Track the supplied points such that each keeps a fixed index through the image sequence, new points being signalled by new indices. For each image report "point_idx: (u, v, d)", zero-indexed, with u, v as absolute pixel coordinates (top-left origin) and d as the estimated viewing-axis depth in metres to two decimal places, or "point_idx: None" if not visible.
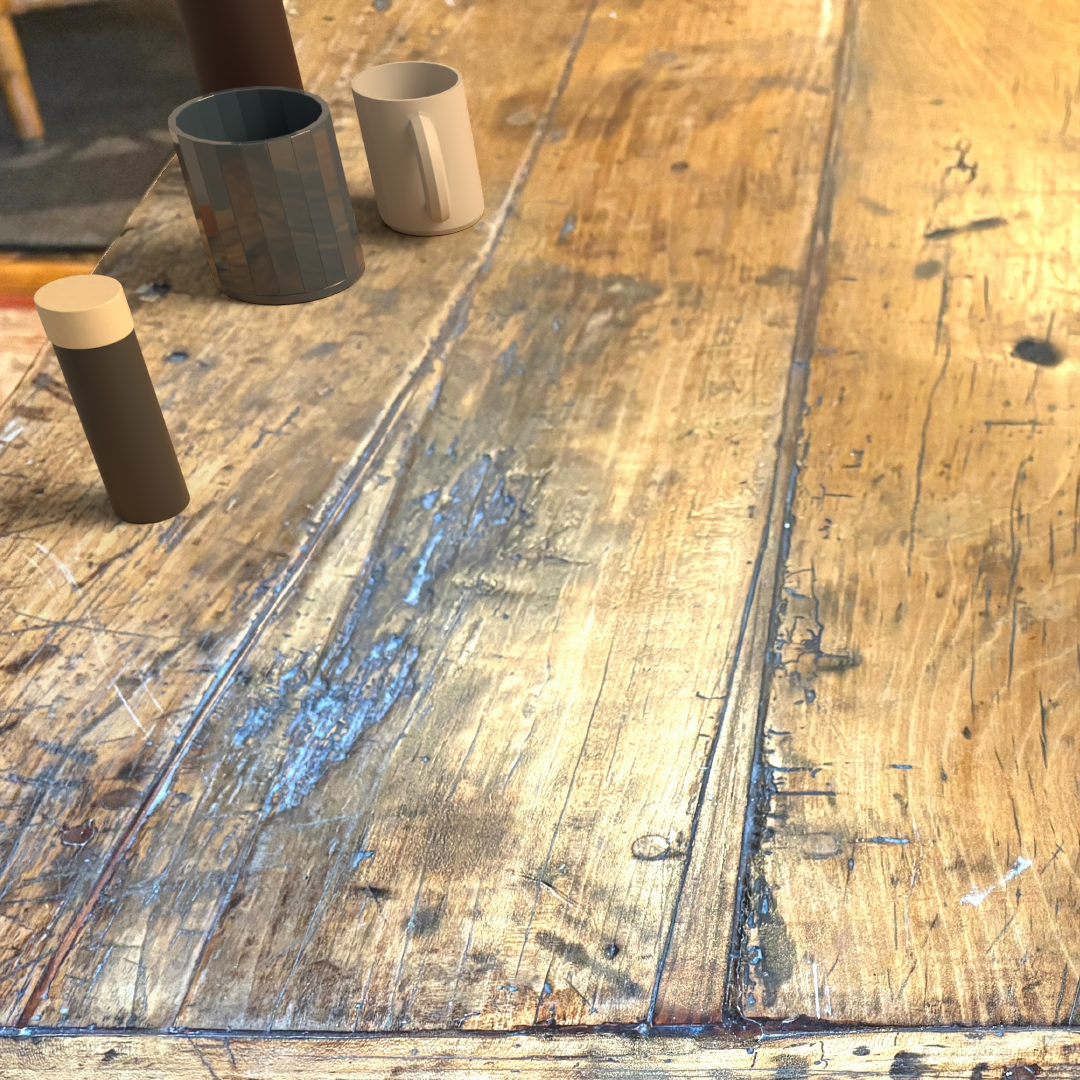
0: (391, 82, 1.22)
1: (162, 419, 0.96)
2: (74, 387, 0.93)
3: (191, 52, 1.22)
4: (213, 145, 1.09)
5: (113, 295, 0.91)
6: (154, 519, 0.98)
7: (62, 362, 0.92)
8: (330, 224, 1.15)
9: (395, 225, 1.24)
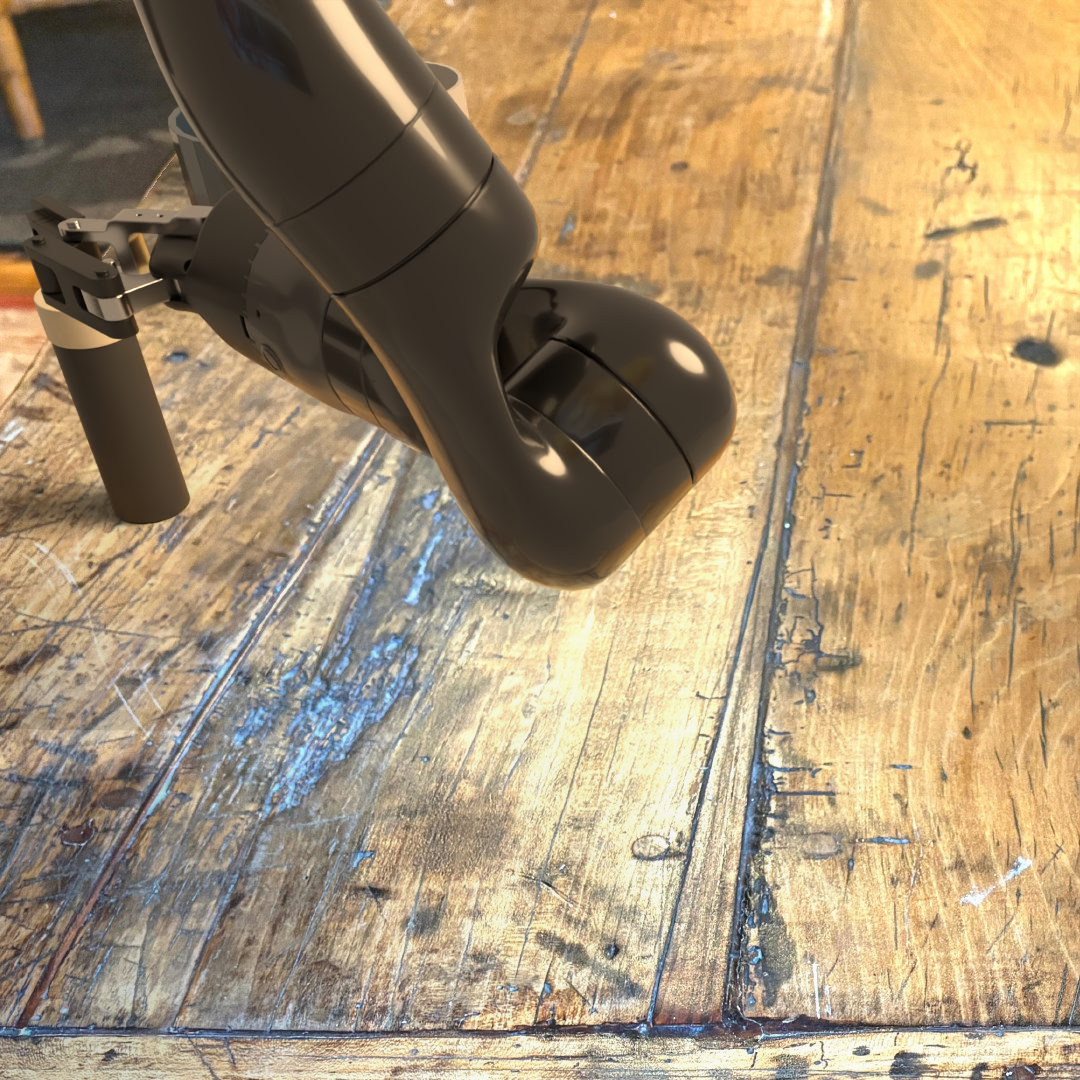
0: None
1: (162, 419, 0.96)
2: (74, 387, 0.93)
3: None
4: None
5: None
6: (154, 519, 0.98)
7: (62, 362, 0.92)
8: None
9: None
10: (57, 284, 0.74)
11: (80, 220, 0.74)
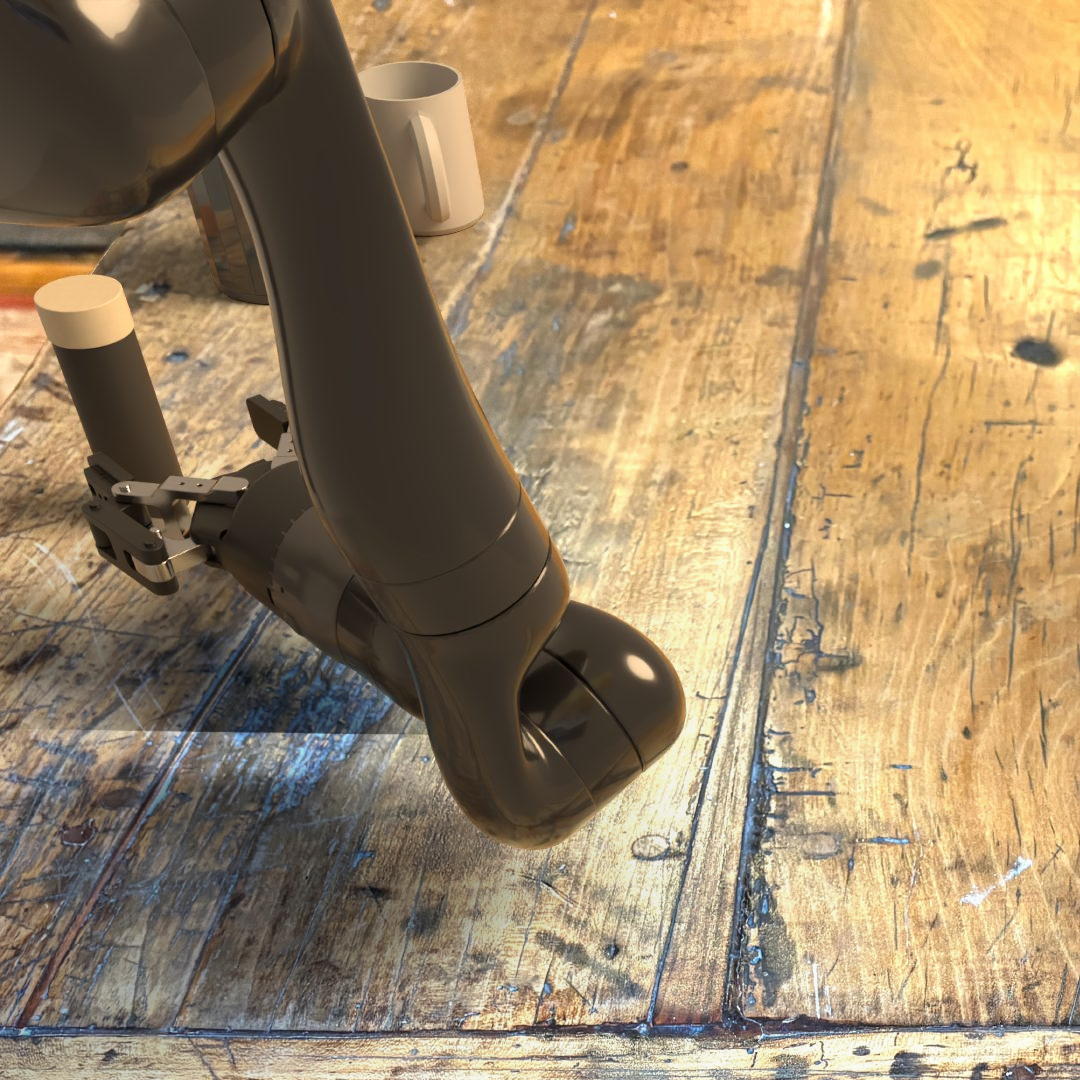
0: (391, 82, 1.22)
1: (162, 419, 0.96)
2: (74, 387, 0.93)
3: None
4: None
5: (113, 295, 0.91)
6: None
7: (62, 362, 0.92)
8: None
9: None
10: (110, 540, 0.86)
11: (130, 483, 0.86)
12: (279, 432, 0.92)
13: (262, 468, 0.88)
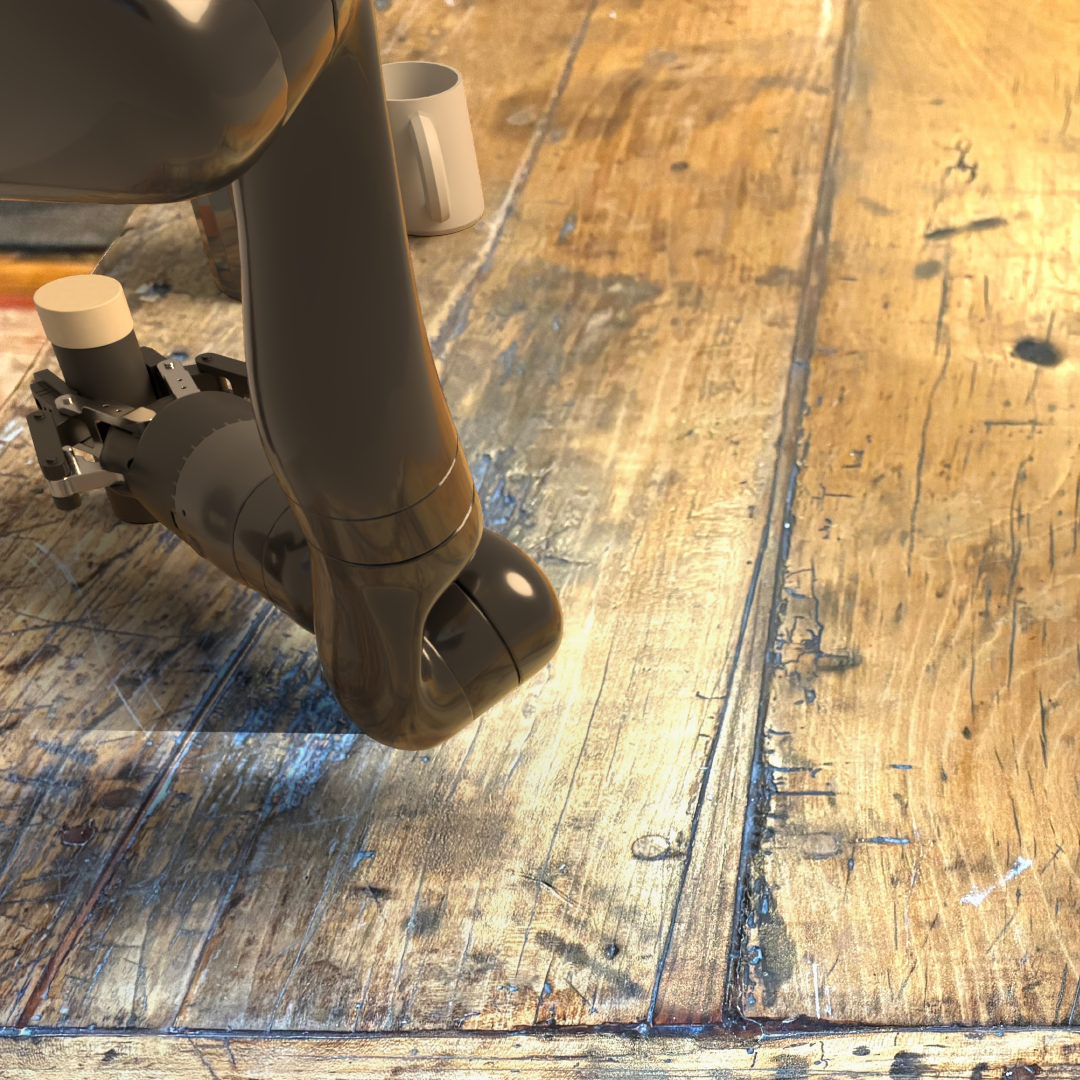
0: (391, 82, 1.22)
1: None
2: (73, 387, 0.93)
3: None
4: None
5: (112, 294, 0.91)
6: (153, 519, 0.98)
7: (61, 361, 0.92)
8: None
9: None
10: None
11: (74, 397, 0.92)
12: None
13: None
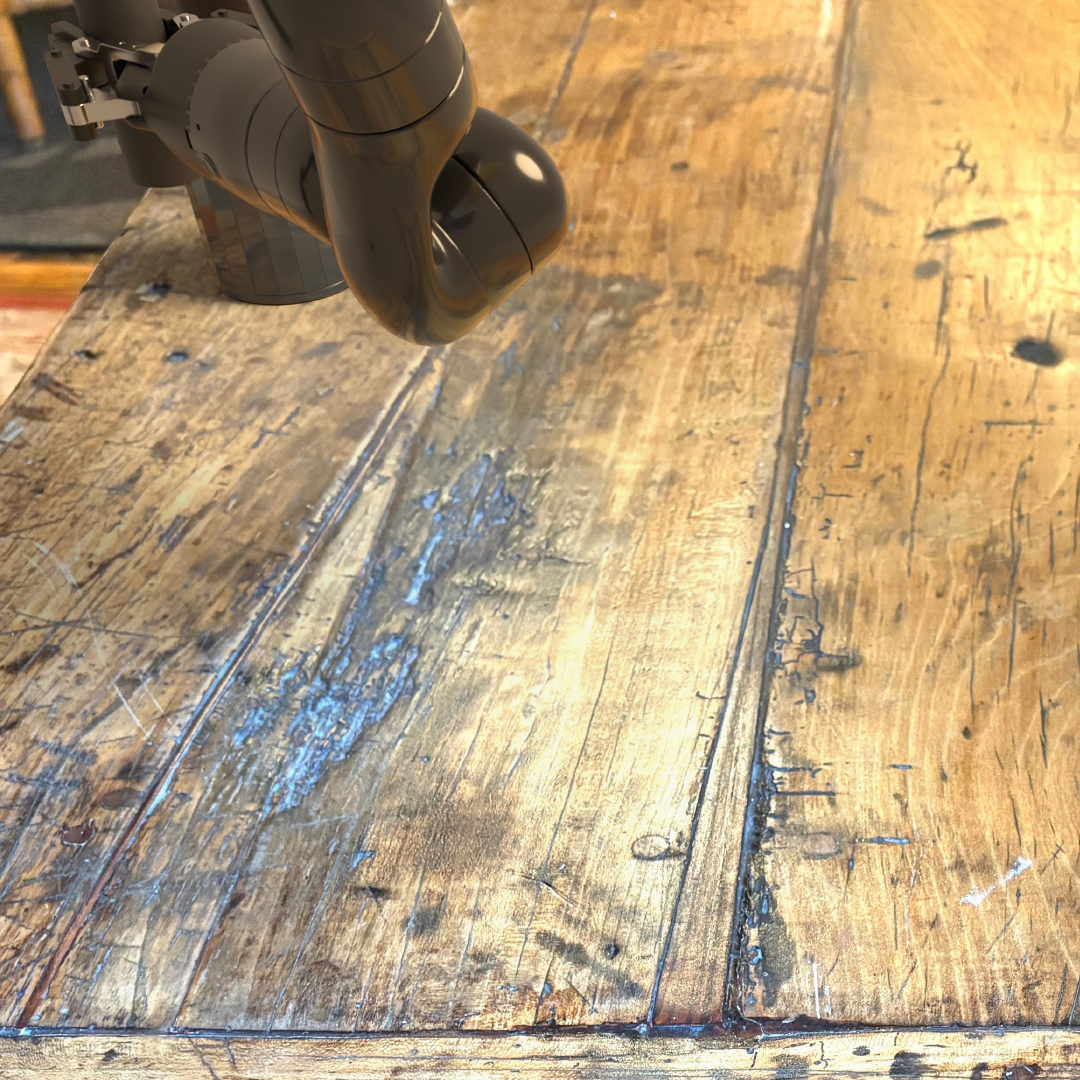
0: None
1: None
2: (90, 34, 0.93)
3: None
4: None
5: None
6: (169, 184, 0.99)
7: (78, 5, 0.93)
8: None
9: None
10: None
11: (91, 40, 0.93)
12: None
13: None
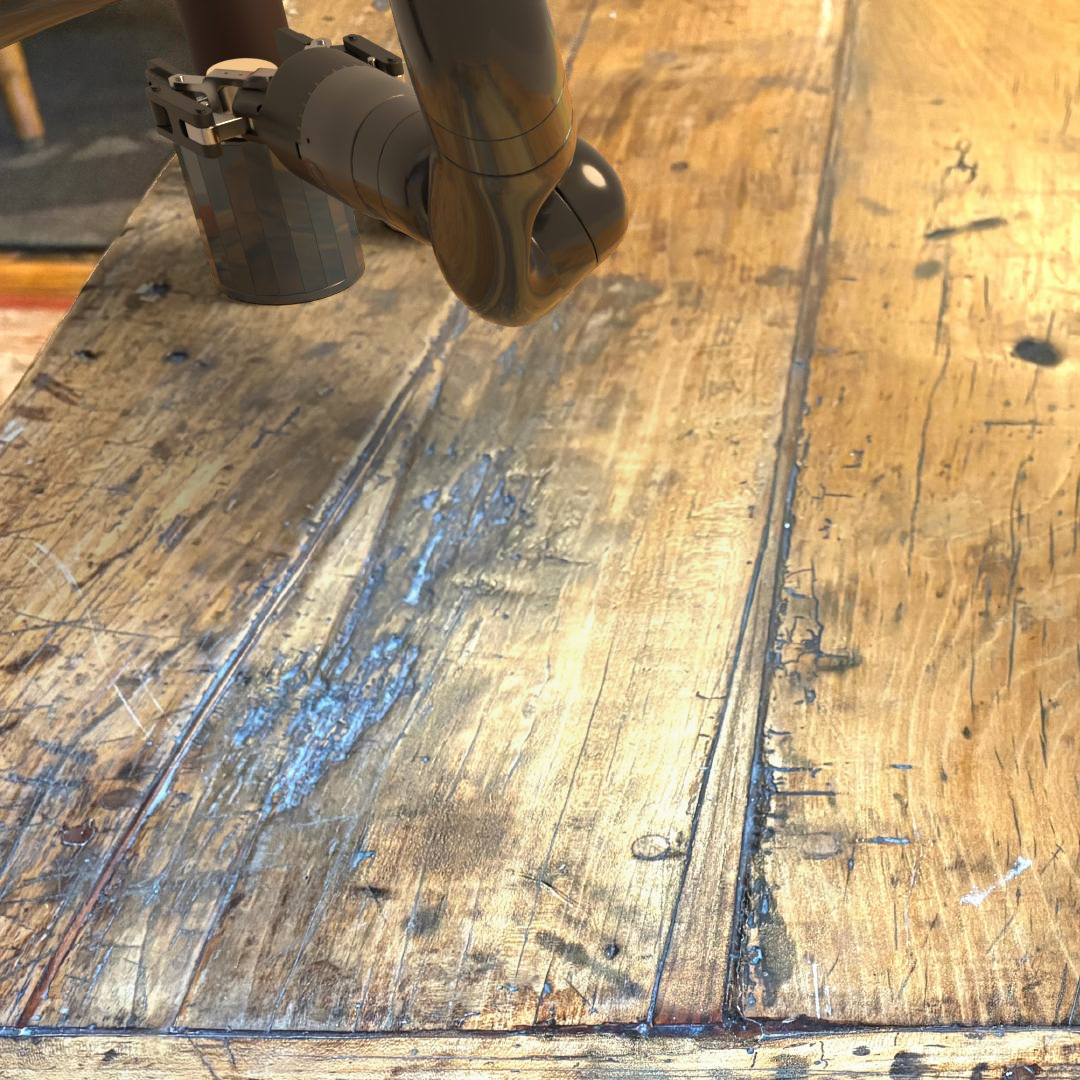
0: None
1: None
2: None
3: (191, 52, 1.22)
4: None
5: None
6: None
7: None
8: (330, 224, 1.15)
9: None
10: (167, 119, 1.06)
11: (183, 76, 1.06)
12: None
13: None
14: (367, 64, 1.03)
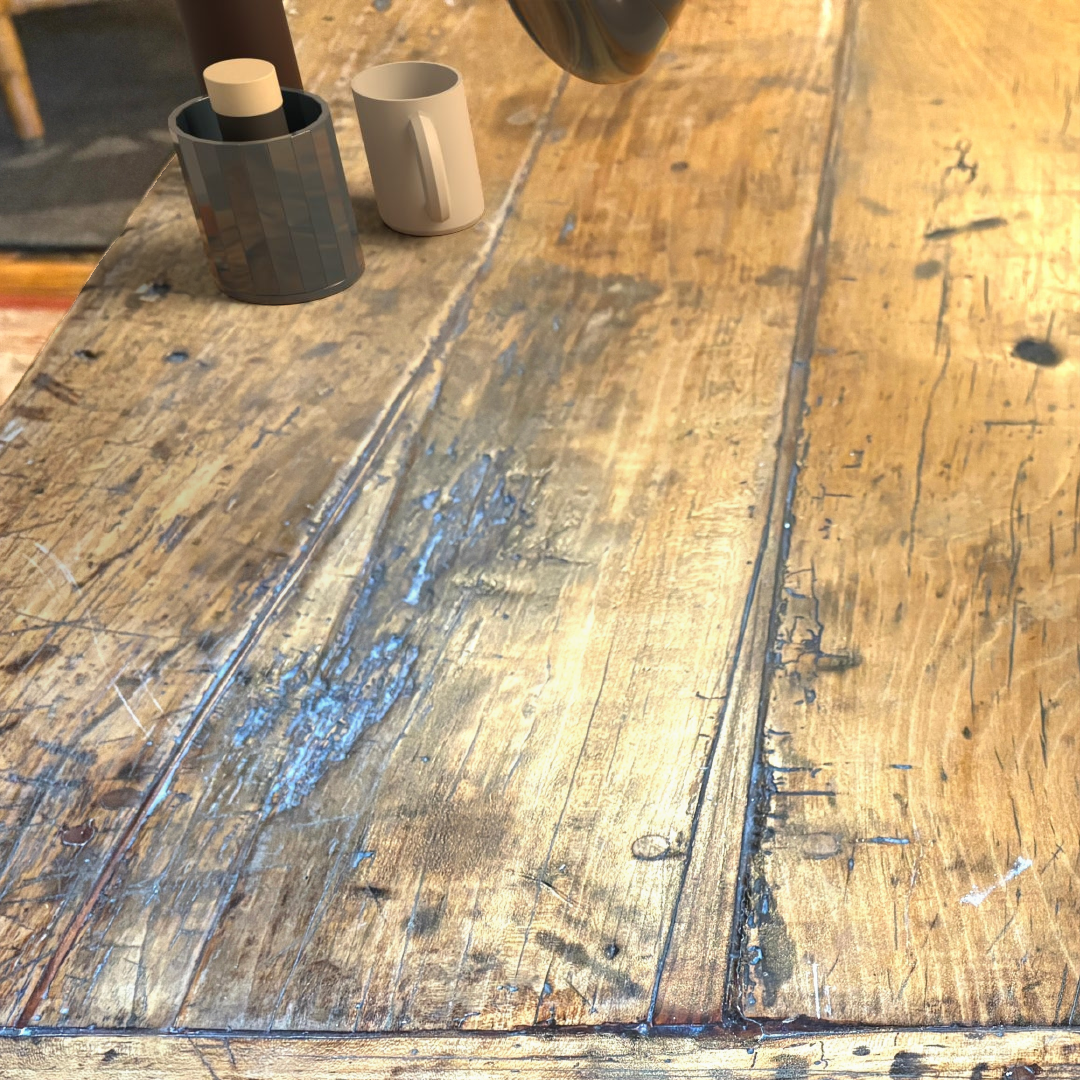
0: (391, 82, 1.22)
1: None
2: None
3: (191, 52, 1.22)
4: (213, 145, 1.09)
5: (268, 72, 1.10)
6: None
7: (224, 129, 1.11)
8: (330, 224, 1.15)
9: (395, 225, 1.24)
10: None
11: None
12: None
13: None
14: None
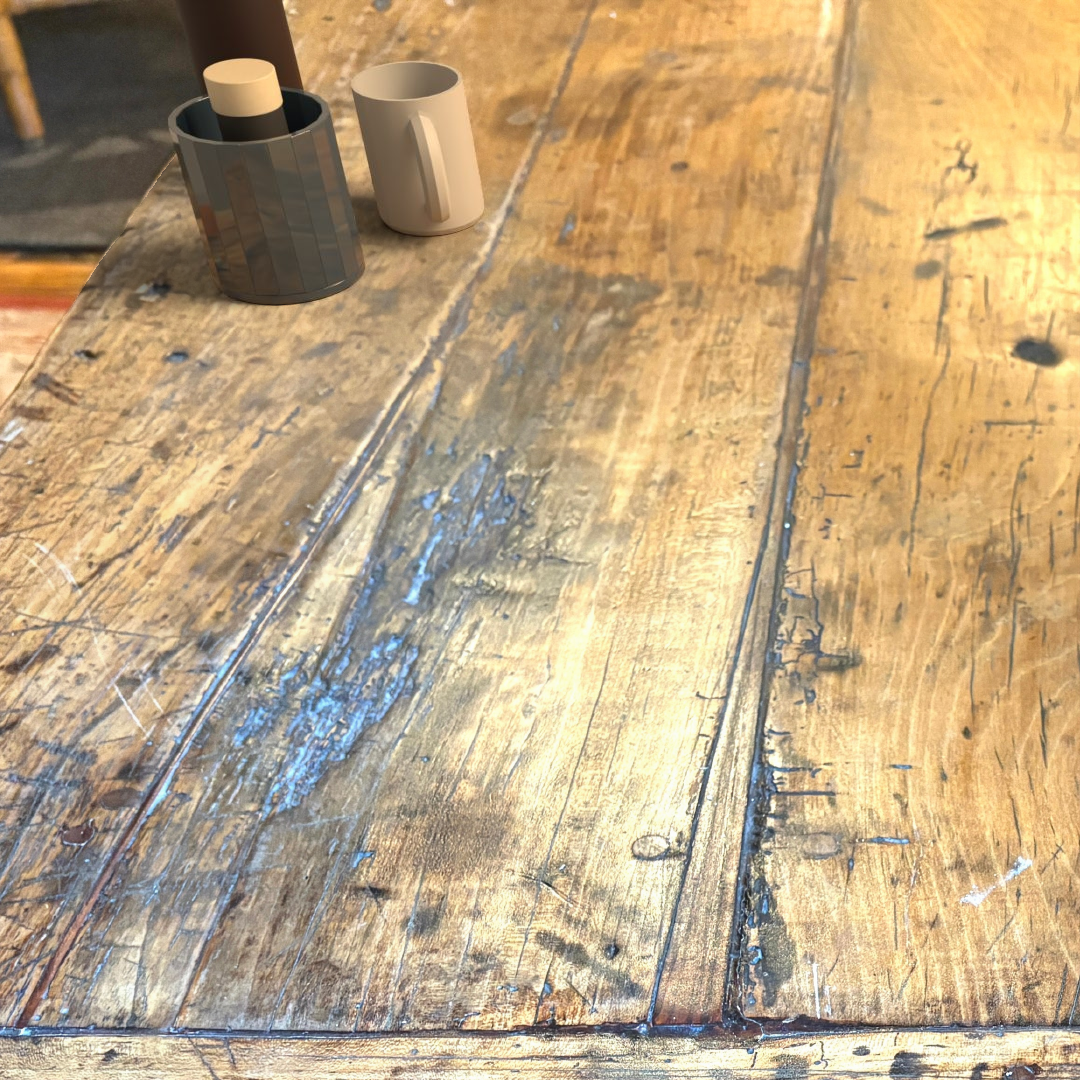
0: (391, 82, 1.22)
1: None
2: None
3: (191, 52, 1.22)
4: (213, 145, 1.09)
5: (268, 72, 1.10)
6: None
7: (224, 129, 1.11)
8: (330, 224, 1.15)
9: (395, 225, 1.24)
10: None
11: None
12: None
13: None
14: None
